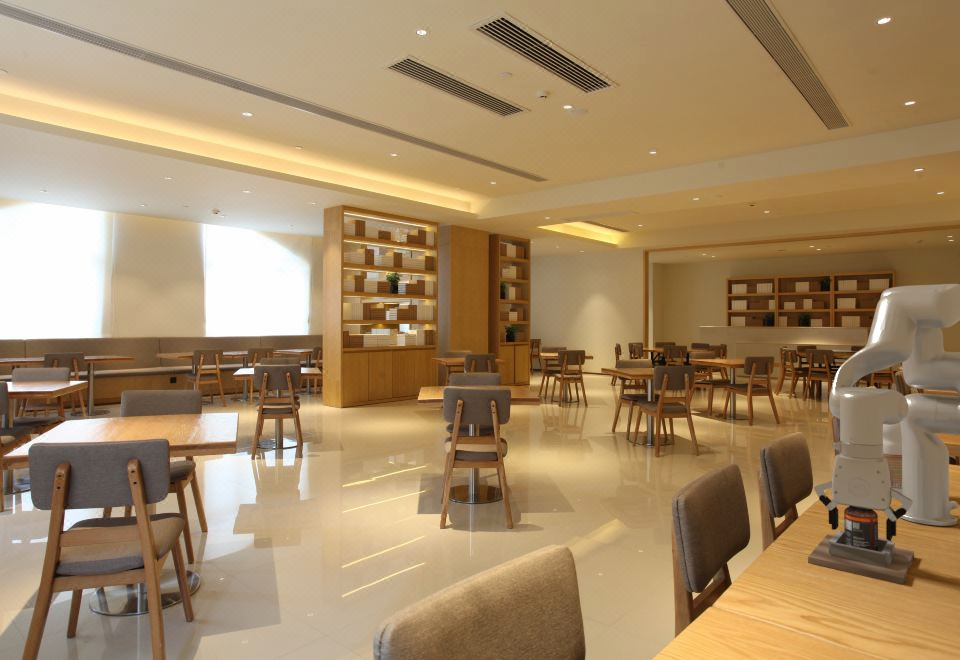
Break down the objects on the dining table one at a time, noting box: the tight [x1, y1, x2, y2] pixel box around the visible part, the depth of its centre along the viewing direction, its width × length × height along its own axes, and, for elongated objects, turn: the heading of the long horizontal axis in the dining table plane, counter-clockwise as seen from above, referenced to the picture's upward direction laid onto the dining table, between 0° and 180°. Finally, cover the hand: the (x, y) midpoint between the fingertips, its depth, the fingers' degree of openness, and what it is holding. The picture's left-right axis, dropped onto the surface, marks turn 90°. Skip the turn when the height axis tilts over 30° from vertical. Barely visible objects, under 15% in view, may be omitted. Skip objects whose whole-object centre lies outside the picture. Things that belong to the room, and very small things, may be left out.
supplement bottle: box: [843, 506, 879, 551], centre depth 123 cm, size 6×6×11 cm
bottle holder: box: [807, 530, 915, 585], centre depth 123 cm, size 18×16×4 cm
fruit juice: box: [883, 422, 902, 494], centre depth 174 cm, size 9×9×28 cm
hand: (861, 533), depth 123 cm, fingers open, 9 cm apart
